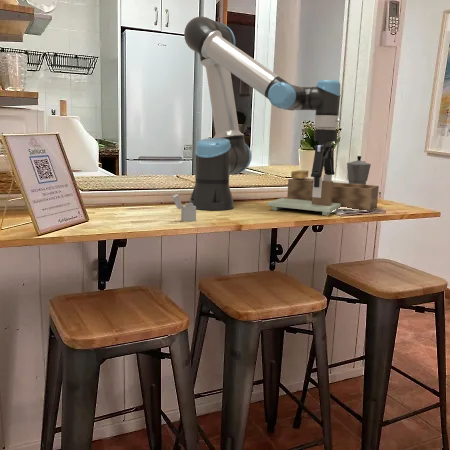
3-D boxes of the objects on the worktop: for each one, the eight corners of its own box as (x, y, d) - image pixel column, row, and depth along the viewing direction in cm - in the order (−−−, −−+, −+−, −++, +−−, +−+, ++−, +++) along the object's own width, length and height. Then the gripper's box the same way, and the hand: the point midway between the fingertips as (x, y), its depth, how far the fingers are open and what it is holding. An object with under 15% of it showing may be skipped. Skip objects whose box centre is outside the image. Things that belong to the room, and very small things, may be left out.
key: (291, 177, 189) (291, 171, 189) (298, 176, 196) (298, 170, 196) (301, 178, 188) (301, 172, 187) (308, 177, 195) (308, 170, 194)
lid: (267, 210, 173) (268, 178, 171) (281, 205, 185) (283, 176, 183) (329, 217, 164) (331, 183, 162) (340, 211, 176) (342, 180, 174)
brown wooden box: (284, 203, 189) (285, 179, 187) (297, 199, 201) (298, 177, 200) (369, 212, 175) (371, 186, 174) (376, 207, 188) (379, 183, 186)
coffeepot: (362, 204, 193) (366, 157, 190) (338, 202, 198) (342, 155, 195) (373, 200, 206) (377, 155, 203) (350, 198, 211) (354, 154, 208)
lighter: (193, 219, 151) (194, 193, 150) (196, 220, 150) (196, 193, 148) (171, 221, 148) (171, 193, 146) (173, 222, 146) (173, 194, 145)
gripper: (327, 128, 155) (322, 200, 159) (346, 129, 175) (341, 192, 179) (303, 128, 158) (299, 198, 162) (324, 129, 179) (320, 191, 183)
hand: (321, 195), depth 171 cm, fingers open, 11 cm apart
